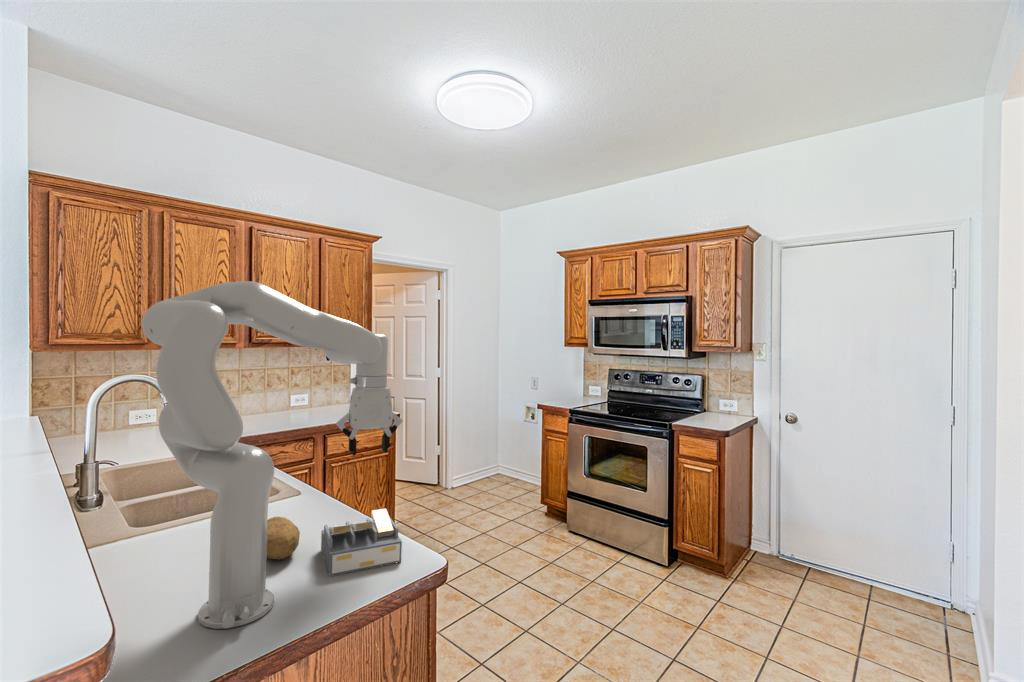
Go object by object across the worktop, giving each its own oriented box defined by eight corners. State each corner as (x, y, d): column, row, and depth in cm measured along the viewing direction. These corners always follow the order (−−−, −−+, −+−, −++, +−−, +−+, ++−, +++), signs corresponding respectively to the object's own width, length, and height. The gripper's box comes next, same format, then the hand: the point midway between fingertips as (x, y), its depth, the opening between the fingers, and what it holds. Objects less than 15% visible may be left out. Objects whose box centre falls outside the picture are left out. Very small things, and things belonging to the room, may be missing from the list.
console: (401, 562, 113) (402, 532, 113) (329, 577, 105) (330, 544, 105) (386, 539, 126) (387, 511, 125) (321, 550, 118) (321, 521, 118)
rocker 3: (393, 534, 116) (393, 530, 115) (377, 537, 114) (378, 532, 114) (385, 513, 122) (386, 508, 122) (371, 515, 121) (371, 510, 120)
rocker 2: (372, 527, 113) (372, 521, 113) (356, 530, 111) (356, 523, 112) (365, 527, 119) (365, 521, 120) (350, 530, 118) (350, 523, 118)
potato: (256, 574, 106) (257, 538, 106) (252, 548, 118) (253, 516, 118) (304, 564, 111) (305, 530, 111) (296, 541, 123) (297, 510, 123)
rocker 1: (350, 531, 110) (350, 524, 111) (334, 533, 109) (333, 527, 109) (344, 530, 117) (344, 524, 117) (328, 533, 115) (328, 527, 116)
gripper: (337, 384, 113) (335, 459, 113) (409, 383, 122) (407, 453, 122) (332, 381, 120) (330, 452, 120) (401, 380, 128) (399, 446, 128)
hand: (369, 452), depth 121 cm, fingers open, 7 cm apart
